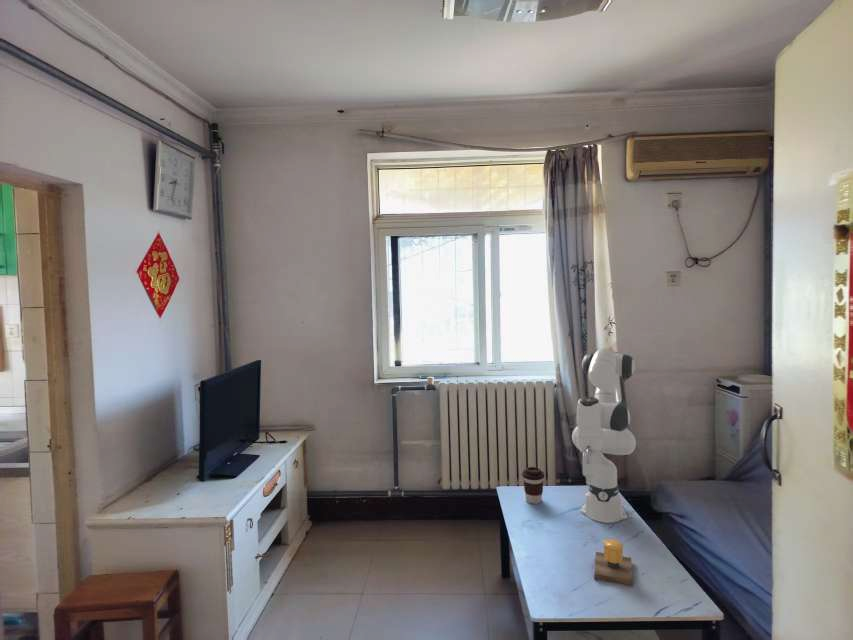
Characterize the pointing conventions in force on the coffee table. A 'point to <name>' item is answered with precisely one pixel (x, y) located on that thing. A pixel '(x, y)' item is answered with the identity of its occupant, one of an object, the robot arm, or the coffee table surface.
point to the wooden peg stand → (613, 570)
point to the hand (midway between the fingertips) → (589, 478)
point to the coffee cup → (533, 484)
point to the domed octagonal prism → (613, 551)
